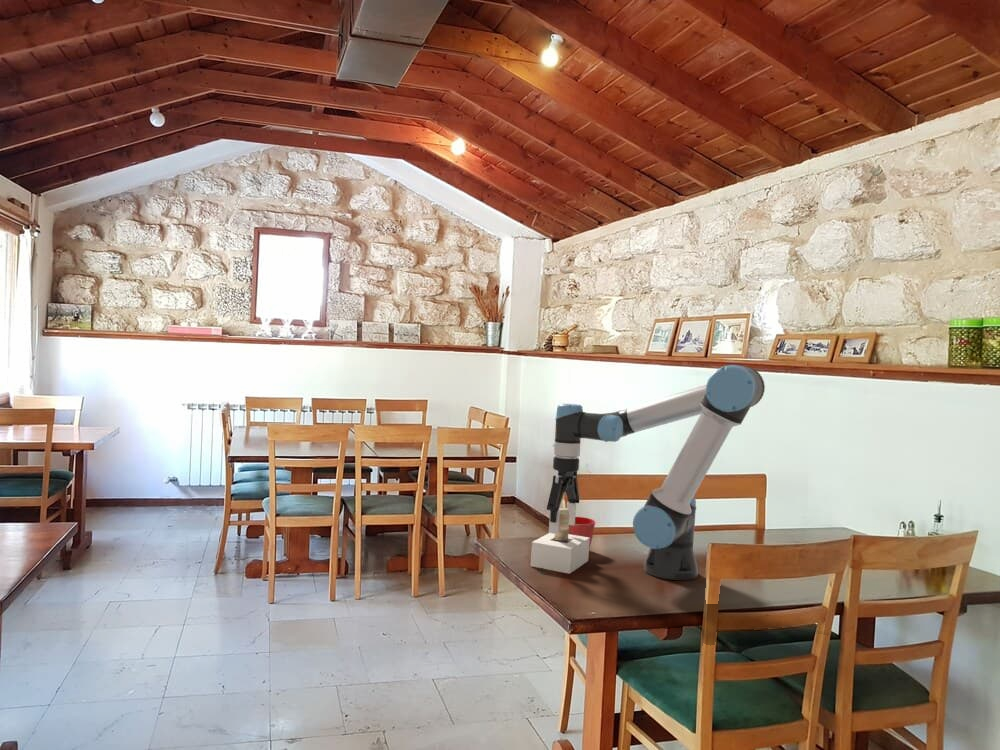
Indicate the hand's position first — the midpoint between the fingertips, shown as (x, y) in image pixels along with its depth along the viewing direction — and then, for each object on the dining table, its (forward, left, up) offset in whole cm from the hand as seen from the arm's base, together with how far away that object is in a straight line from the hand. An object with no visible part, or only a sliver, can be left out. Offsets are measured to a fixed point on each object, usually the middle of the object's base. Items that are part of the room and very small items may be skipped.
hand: (562, 528), depth 219 cm
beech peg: (0, 0, -8) cm, 8 cm away
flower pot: (+1, -17, -10) cm, 20 cm away
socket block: (0, 0, -10) cm, 10 cm away
